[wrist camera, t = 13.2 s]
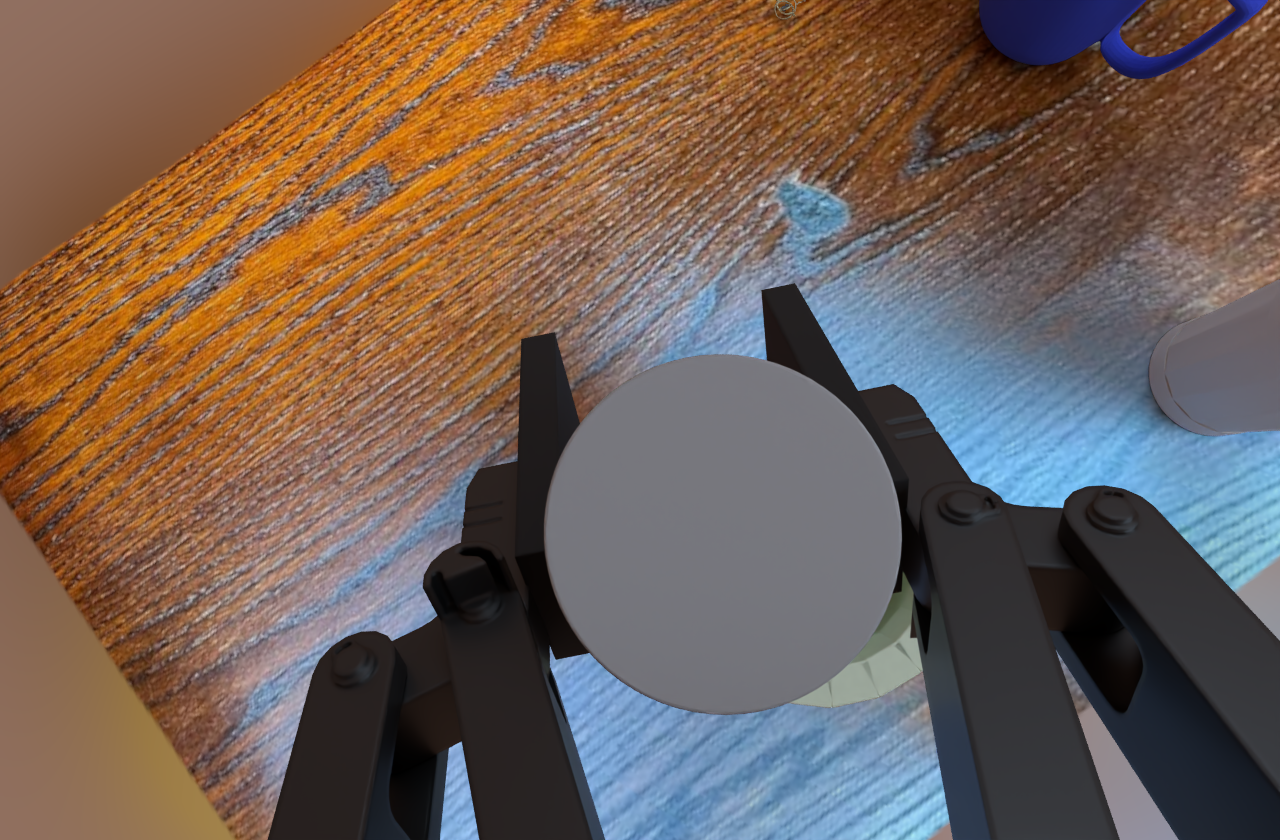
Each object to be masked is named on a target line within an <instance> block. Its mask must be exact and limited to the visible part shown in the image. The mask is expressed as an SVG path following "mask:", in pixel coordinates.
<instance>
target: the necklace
mask: <svg viewBox="0 0 1280 840" xmlns="http://www.w3.org/2000/svg"><path fill="white" fill-rule="evenodd" d="M776 1H777V2H776V4H775V9H774V10H775V14H776V5H777V9H778V11H779V12H780V13H782V14H785V15H790V14H792V15H793V16H795V14H794V13H795V10H796V5H798V4H799V3H801V2H803V1H805V0H803V1H801V2H798V3H796V1H795V0H794V2H795V10H794V8H793V5H792V4H791V3H790V2H788V1H784V0H782V1H779V0H776ZM780 2H786V3H788V4H786V5H785V6H782V7H781V8H778V4H777V3H780ZM790 7H792V9H793V11H794V12H793V11H792V12H791V13H784V11H785V10H786V9H789V8H790ZM782 11H783V12H782ZM792 15H791V16H792ZM776 16H777V14H776ZM791 16H789V17H787V18H780V17H778V16H777V17H778V18H780V19H788V18H790V17H791Z"/></svg>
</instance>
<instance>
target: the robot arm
mask: <svg viewBox="0 0 1280 840" xmlns="http://www.w3.org/2000/svg"><path fill="white" fill-rule="evenodd" d="M761 291H762V303H763V316H764V329H765V341H766V354H767V361H770V362H773V363H776V364H779V365H782V366H785V367H787V368H790V369H792V370H794V371H797V372H798V373H800V374H802V375H804V376H806V377H808V378H810V379H812V380H813V381H815V382H816V383H818V384H819V385H821V386H823V387H824V388H825V389H827V390H828V391H829V392H831V393H832V394H833V395H834V396H836V397H837V398H838V399H839V400H840V401H841V402H842V403H843V404H845V405H846V406H847V407H848V408H849V409H850V410H851V411H852V412H853V414H854V415H855V416H856V417H857V418H858V419H859V420H860V422H861V423H862V424H863V425H864V427H865V428H866V430H867V431H868V432H869V434H870V435H871V437H872V438H873V440H874V441H875V443H876V445H877V446H878V448H879V450H880V452H881V454H882V456H883V458H884V460H885V462H886V465H887V467H888V469H889V472H890V474H891V477H892V480H893V483H894V487H895V490H896V494H897V499H898V504H899V509H900V516H901V530H902V542H901V557H900V565H899V570H898V575H897V580H896V584H895V587H894V590H893V593H898V592H902V578H903V572H904V574H905V576H906V578H907V580H908V582H909V584H910V586H911V588H912V590H913V592H914V594H913V606H912V619H911V631H910V638H917V641H918V647H919V652H920V658H921V663H922V669H923V675H924V680H925V686H926V691H927V697H928V703H929V708H930V714H931V719H932V725H933V731H934V736H935V742H936V747H937V753H938V759H939V764H940V770H941V776H942V781H943V787H944V792H945V798H946V804H947V809H948V815H949V820H950V826H951V832H952V837H953V840H1120V839H1119V837H1118V833H1117V830H1116V827H1115V824H1114V821H1113V818H1112V815H1111V813H1110V809H1109V806H1108V803H1107V800H1106V798H1105V795H1104V792H1103V789H1102V786H1101V783H1100V780H1099V777H1098V774H1097V771H1096V768H1095V765H1094V762H1093V759H1092V756H1091V753H1090V750H1089V747H1088V744H1087V741H1086V739H1085V736H1084V732H1083V729H1082V727H1081V723H1080V721H1079V718H1078V715H1077V712H1076V709H1075V706H1074V703H1073V700H1072V697H1071V694H1070V691H1069V688H1068V685H1067V682H1066V679H1065V676H1064V673H1063V670H1062V667H1061V664H1060V661H1059V658H1058V655H1057V652H1058V654H1059V655H1060V657H1061V658H1062V660H1063V661H1064V663H1065V664H1066V666H1067V667H1068V669H1069V671H1070V672H1071V674H1072V675H1073V677H1074V678H1075V680H1076V681H1077V683H1078V684H1079V686H1080V688H1081V689H1082V691H1083V692H1084V694H1085V695H1086V697H1087V698H1088V700H1089V702H1090V703H1091V705H1092V706H1093V708H1094V709H1095V711H1096V712H1097V714H1098V715H1099V717H1100V718H1101V720H1102V722H1103V723H1104V725H1105V726H1106V728H1107V729H1108V731H1109V732H1110V734H1111V735H1112V737H1113V739H1114V740H1115V742H1116V743H1117V745H1118V746H1119V748H1120V749H1121V751H1122V753H1123V754H1124V756H1125V757H1126V759H1127V760H1128V762H1129V763H1130V765H1131V767H1132V768H1133V770H1134V771H1135V773H1136V774H1137V776H1138V777H1139V779H1140V780H1141V782H1142V784H1143V785H1144V787H1145V788H1146V790H1147V791H1148V793H1149V794H1150V796H1151V797H1152V799H1153V801H1154V802H1155V804H1156V805H1157V807H1158V808H1159V810H1160V811H1161V813H1162V815H1163V816H1164V818H1165V819H1166V821H1167V822H1168V824H1169V825H1170V827H1171V829H1172V830H1173V832H1174V833H1175V835H1176V836H1177V838H1178V839H1179V840H1280V641H1279V640H1278V639H1277V638H1276V636H1275V635H1274V634H1273V633H1272V632H1271V631H1270V630H1269V629H1268V628H1267V627H1266V626H1265V625H1264V624H1263V623H1262V621H1261V620H1260V619H1259V618H1258V617H1257V616H1256V615H1255V614H1254V613H1253V612H1252V611H1251V610H1250V609H1249V607H1248V606H1247V605H1246V604H1245V603H1244V602H1243V601H1242V600H1241V599H1240V598H1239V597H1238V596H1237V595H1236V594H1235V592H1234V591H1233V590H1232V589H1231V588H1230V587H1229V586H1228V585H1227V584H1226V583H1225V582H1224V581H1223V580H1222V579H1221V577H1220V576H1219V575H1218V574H1217V573H1216V572H1215V571H1214V570H1213V569H1212V568H1211V567H1210V566H1209V565H1208V564H1207V562H1206V561H1205V560H1204V559H1203V558H1202V557H1201V556H1200V555H1199V554H1198V553H1197V552H1196V551H1195V550H1194V549H1193V547H1192V546H1191V545H1190V544H1189V543H1188V542H1187V541H1186V540H1185V539H1184V538H1183V537H1182V536H1181V535H1180V534H1179V532H1178V531H1177V530H1176V529H1175V528H1174V527H1173V526H1172V525H1171V524H1170V523H1169V522H1168V521H1167V520H1166V519H1165V517H1164V516H1163V515H1162V514H1161V513H1160V512H1159V511H1158V510H1157V509H1156V508H1155V507H1154V506H1153V505H1152V504H1150V503H1149V502H1148V501H1146V500H1145V499H1144V498H1143V497H1141V496H1139V495H1137V494H1134V493H1132V492H1130V491H1127V490H1125V489H1122V488H1116V487H1110V486H1105V485H1104V486H1087V487H1084V488H1082V489H1079V490H1076V491H1074V492H1073V493H1072V494H1071V495H1070V496H1069V497H1068V498H1067V499H1066V500H1065V502H1064V506H1063V508H1050V507H1029V506H1020V505H1013V504H1009V503H1006V502H1004V501H1003V500H1002V498H1001V497H1000V496H999V495H998V494H996V493H995V492H993V491H992V490H991V489H989V488H988V487H985V486H982V485H979V484H976V483H974V482H972V481H971V480H970V478H969V477H968V475H967V474H966V472H965V471H964V469H963V468H962V467H961V465H960V464H959V462H958V461H957V459H956V458H955V456H954V455H953V453H952V452H951V450H950V449H949V447H948V446H947V444H946V443H945V442H944V440H943V439H942V437H941V436H940V434H939V433H938V432H936V430H935V427H934V425H933V424H932V422H931V421H930V419H929V418H927V417H926V414H925V412H924V411H923V409H922V408H921V406H920V405H919V403H918V402H917V400H916V399H915V397H913V396H912V395H910V394H909V393H907V392H905V391H904V390H902V389H901V388H899V387H897V386H896V385H894V384H892V385H887V386H882V387H877V388H872V389H867V390H862V391H858V390H857V389H856V387H855V385H854V383H853V382H852V380H851V378H850V377H849V375H848V373H847V372H846V370H845V368H844V366H843V365H842V363H841V361H840V360H839V358H838V356H837V354H836V353H835V351H834V349H833V348H832V346H831V344H830V342H829V341H828V339H827V337H826V336H825V334H824V332H823V330H822V329H821V327H820V325H819V324H818V322H817V320H816V318H815V317H814V315H813V313H812V312H811V310H810V308H809V306H808V305H807V303H806V301H805V300H804V298H803V296H802V295H801V293H800V291H799V289H798V288H797V286H796V284H795V283H794V284H790V285H785V286H780V287H775V288H770V289H765V290H761ZM579 425H580V422H579V419H578V415H577V411H576V408H575V404H574V401H573V397H572V393H571V390H570V386H569V383H568V379H567V375H566V372H565V368H564V365H563V361H562V357H561V354H560V350H559V347H558V343H557V339H556V336H555V332H554V333H549V334H544V335H539V336H534V337H529V338H524V339H521V368H520V400H519V431H518V461H516V462H511V463H506V464H501V465H496V466H491V467H486V468H481V469H479V470H478V471H477V473H476V474H475V476H474V478H473V479H472V481H471V483H470V484H469V486H468V487H467V491H466V500H465V512H464V519H463V526H464V528H462V537H461V543H459V544H456V545H455V546H453V547H451V548H449V549H447V550H445V551H443V552H442V553H441V554H440V555H439V556H438V557H437V558H435V559H434V560H433V561H432V562H431V564H430V565H429V567H428V569H427V571H426V572H425V574H424V580H423V589H424V591H425V593H426V594H427V596H428V598H429V600H430V602H431V604H432V606H433V608H434V610H435V611H436V613H437V615H438V616H437V617H435V618H434V619H433V620H432V621H431V622H429V623H427V624H426V625H424V626H422V627H420V628H419V629H417V630H414V631H412V632H410V633H408V634H406V635H404V636H402V637H400V638H398V639H396V640H394V641H391V640H390V639H389V637H388V636H386V635H384V634H382V633H379V632H377V631H368V632H359V633H356V634H354V635H351V636H348V637H345V638H344V639H342V640H341V641H339V642H338V643H336V644H335V645H333V646H332V647H331V648H330V649H329V650H328V651H327V652H326V653H325V654H324V656H323V657H322V658H321V659H320V660H319V662H318V664H317V666H316V668H315V670H314V673H313V675H312V679H311V682H310V686H309V690H308V693H307V697H306V701H305V704H304V708H303V712H302V715H301V719H300V723H299V726H298V730H297V734H296V737H295V741H294V745H293V748H292V752H291V756H290V759H289V763H288V767H287V770H286V774H285V778H284V781H283V785H282V789H281V792H280V796H279V800H278V803H277V807H276V811H275V814H274V818H273V822H272V826H271V829H270V833H269V837H268V840H440V832H441V821H442V811H443V801H444V791H445V781H446V771H447V761H448V751H449V748H450V747H452V746H453V745H455V744H457V743H459V742H461V741H462V745H463V751H464V756H465V762H466V768H467V773H468V779H469V784H470V790H471V796H472V801H473V807H474V812H475V818H476V824H477V829H478V835H479V840H605V838H604V834H603V831H602V828H601V825H600V822H599V818H598V815H597V812H596V809H595V805H594V802H593V799H592V796H591V793H590V789H589V786H588V783H587V780H586V777H585V773H584V770H583V767H582V764H581V761H580V757H579V754H578V751H577V748H576V744H575V741H574V738H573V735H572V732H571V728H570V725H569V722H568V719H567V716H566V712H565V709H564V706H563V703H562V700H561V696H560V693H559V690H558V687H557V683H556V680H555V678H554V676H553V673H552V671H551V668H550V647H551V649H552V652H553V654H554V657H555V659H562V658H567V657H572V656H577V655H582V654H587V653H589V652H588V650H587V649H586V648H585V647H584V646H583V644H582V643H581V642H580V640H579V639H578V637H577V636H576V635H575V633H574V632H573V630H572V629H571V627H570V625H569V623H568V622H567V620H566V618H565V616H564V614H563V612H562V610H561V608H560V606H559V603H558V601H557V598H556V596H555V594H554V590H553V587H552V584H551V581H550V577H549V573H548V568H547V562H546V557H545V546H544V517H545V508H546V502H547V496H548V492H549V488H550V484H551V480H552V477H553V474H554V471H555V468H556V466H557V463H558V461H559V459H560V456H561V454H562V452H563V450H564V448H565V446H566V444H567V443H568V441H569V440H570V438H571V436H572V435H573V433H574V431H575V430H576V429H577V427H578V426H579ZM893 593H892V594H893ZM1056 650H1057V652H1056Z"/></svg>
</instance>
